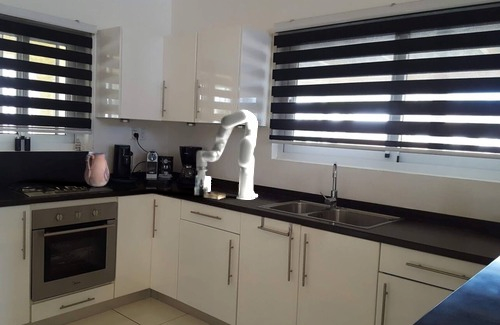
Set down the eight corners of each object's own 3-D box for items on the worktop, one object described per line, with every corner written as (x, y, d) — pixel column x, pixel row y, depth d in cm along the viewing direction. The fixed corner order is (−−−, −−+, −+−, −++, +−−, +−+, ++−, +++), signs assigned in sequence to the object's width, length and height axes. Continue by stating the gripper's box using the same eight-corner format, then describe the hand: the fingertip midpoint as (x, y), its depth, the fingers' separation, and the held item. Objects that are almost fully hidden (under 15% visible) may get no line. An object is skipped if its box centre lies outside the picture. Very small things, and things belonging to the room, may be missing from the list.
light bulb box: (194, 189, 309) (195, 175, 308) (201, 189, 313) (202, 175, 312) (203, 192, 301) (204, 177, 300) (210, 191, 306) (211, 176, 305)
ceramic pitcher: (113, 184, 317) (113, 152, 315) (100, 188, 296) (100, 154, 294) (91, 183, 319) (91, 151, 317) (77, 187, 298) (77, 153, 296)
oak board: (225, 197, 284) (225, 193, 284) (218, 199, 275) (218, 195, 275) (211, 195, 289) (212, 191, 288) (204, 197, 280) (204, 193, 279)
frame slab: (207, 194, 289) (208, 186, 288) (207, 195, 285) (207, 187, 285) (194, 194, 288) (195, 186, 288) (194, 195, 285) (194, 187, 284)
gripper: (197, 167, 293) (196, 192, 295) (195, 169, 276) (195, 196, 278) (207, 167, 293) (207, 192, 295) (206, 169, 277) (206, 196, 279)
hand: (201, 194), depth 287 cm, fingers closed on frame slab, 3 cm apart
